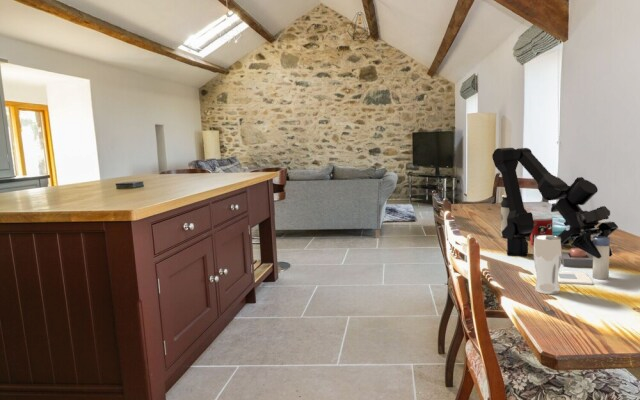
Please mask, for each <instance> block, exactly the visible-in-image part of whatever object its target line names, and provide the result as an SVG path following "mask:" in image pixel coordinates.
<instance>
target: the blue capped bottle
mask: <svg viewBox="0 0 640 400" xmlns="http://www.w3.org/2000/svg"><path fill="white" fill-rule="evenodd" d="M592 240H593V244H594V245H595V247H596V248H597V250H598V251H599V253H600V255H601V258H599V259H598V258H596V257H594V256H593V267H592V278H593V279H597V280H600V281H601V280H602V281H603V280H609V279H610V276H609V275H610V272H609V271H610V257H609V245H611V238H610V236H608V237H604V236H595V237H593V238H592Z"/></svg>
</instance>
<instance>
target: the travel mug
mask: <svg viewBox="0 0 640 400" xmlns="http://www.w3.org/2000/svg"><path fill="white" fill-rule="evenodd" d="M501 197H502V200H501V202H500V220H501V221H500V224H501V227H500V228H501V230H500V233H501V237H502V238H503V236H502V231H503V230H504V229H505V227H506V226H507V217H508V214H509V206H508V201H507V197H506V194H502V195H501Z"/></svg>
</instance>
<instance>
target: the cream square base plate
mask: <svg viewBox="0 0 640 400" xmlns="http://www.w3.org/2000/svg"><path fill="white" fill-rule="evenodd" d="M558 284H569V285H591V286H592V285H594V283H593V281H592V280H591V278H590V277H589V276H588V275H587V273H586V272H585V271H566V270H559V275H558Z"/></svg>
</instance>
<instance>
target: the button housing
mask: <svg viewBox="0 0 640 400" xmlns="http://www.w3.org/2000/svg"><path fill="white" fill-rule="evenodd" d="M570 254H571V251H562V259H561V265H562V266H563V267H568V268H569V267H570V268H571V267H572V268H593V255H591V254H589V253H587V252H586V258H576V257H570Z"/></svg>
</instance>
